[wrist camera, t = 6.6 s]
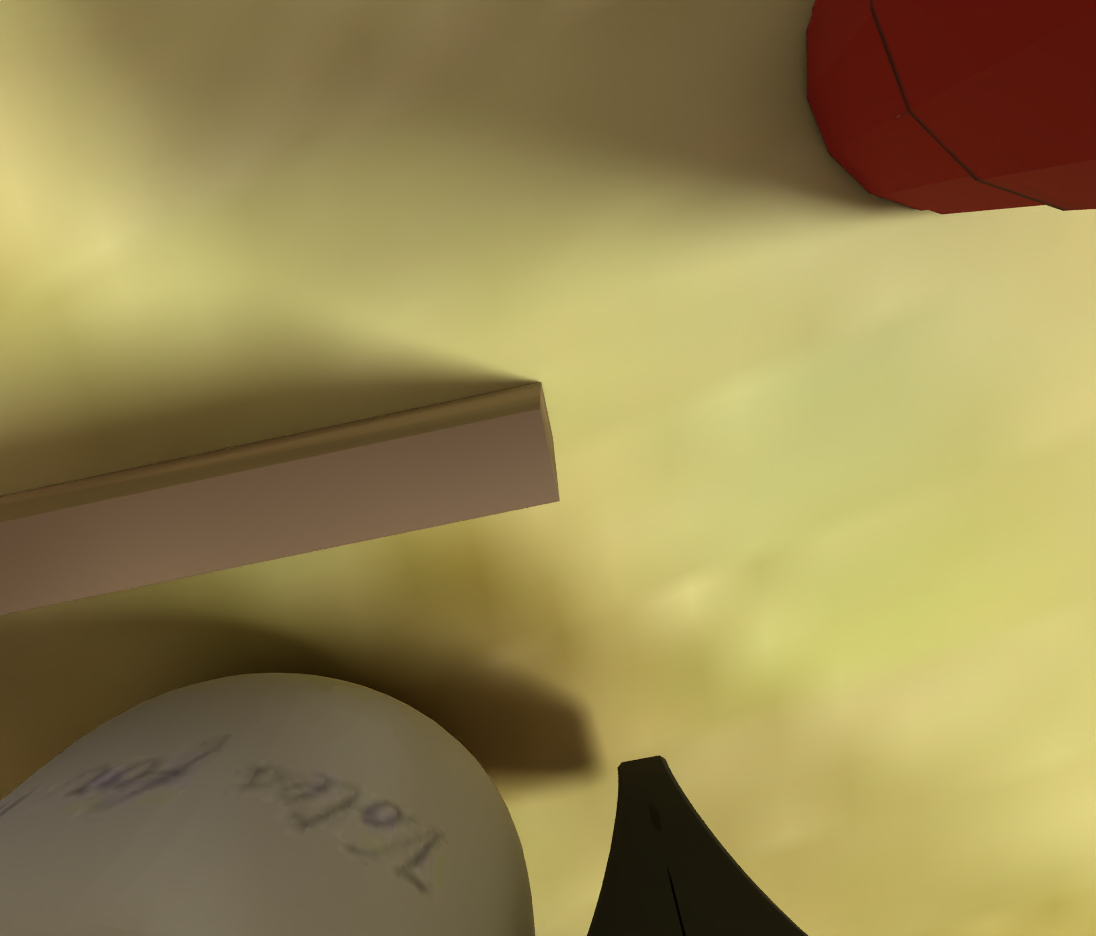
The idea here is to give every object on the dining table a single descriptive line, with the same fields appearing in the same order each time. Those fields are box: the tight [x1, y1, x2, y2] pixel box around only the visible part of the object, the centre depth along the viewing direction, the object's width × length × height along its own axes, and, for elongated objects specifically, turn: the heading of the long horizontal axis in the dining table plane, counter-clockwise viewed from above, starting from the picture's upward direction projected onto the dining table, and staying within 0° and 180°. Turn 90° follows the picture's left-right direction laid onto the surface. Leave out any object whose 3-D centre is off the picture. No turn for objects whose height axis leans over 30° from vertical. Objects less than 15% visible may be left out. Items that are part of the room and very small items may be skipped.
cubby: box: [0, 382, 560, 615], centre depth 12 cm, size 18×19×5 cm
